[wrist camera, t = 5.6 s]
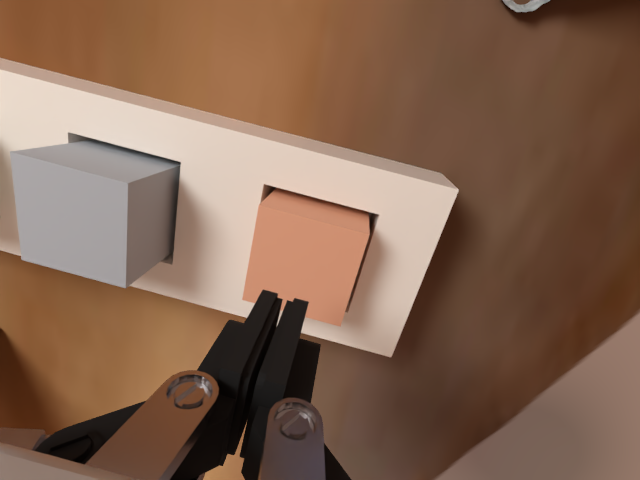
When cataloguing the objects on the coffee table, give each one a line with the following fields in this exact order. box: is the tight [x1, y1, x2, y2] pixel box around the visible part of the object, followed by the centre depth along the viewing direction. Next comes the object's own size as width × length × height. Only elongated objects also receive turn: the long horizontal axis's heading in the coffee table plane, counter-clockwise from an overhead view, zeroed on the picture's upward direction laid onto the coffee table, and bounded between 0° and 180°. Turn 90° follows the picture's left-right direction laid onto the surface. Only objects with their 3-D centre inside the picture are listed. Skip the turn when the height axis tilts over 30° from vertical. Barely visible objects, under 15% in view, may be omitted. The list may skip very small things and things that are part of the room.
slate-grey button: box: [10, 140, 181, 288], centre depth 17 cm, size 5×5×5 cm
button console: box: [0, 58, 459, 357], centre depth 20 cm, size 32×10×4 cm, turn 77°
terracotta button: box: [242, 188, 370, 327], centre depth 18 cm, size 5×5×5 cm
